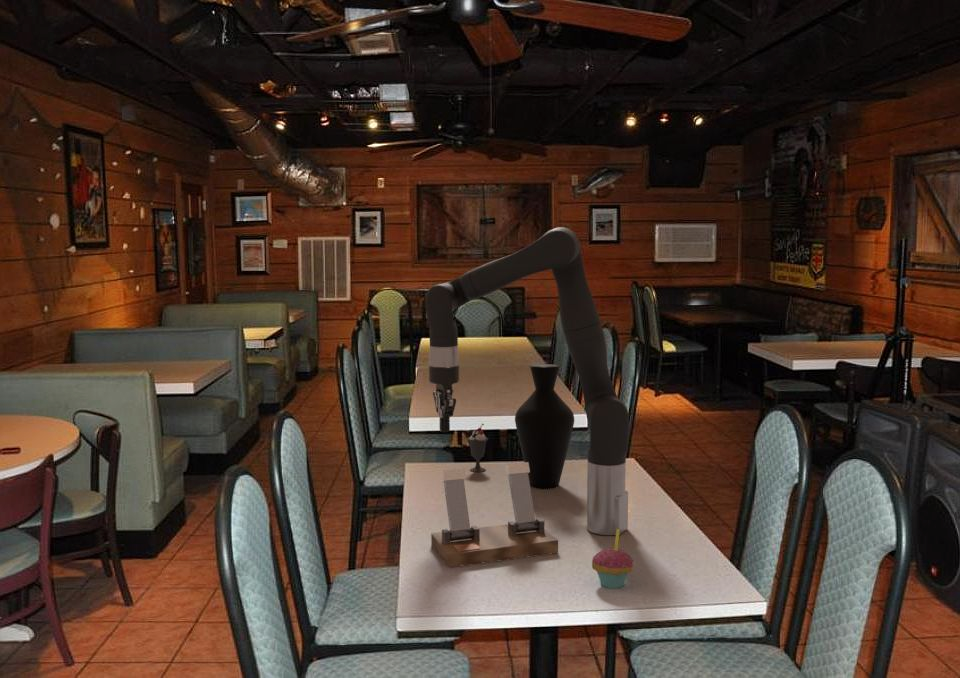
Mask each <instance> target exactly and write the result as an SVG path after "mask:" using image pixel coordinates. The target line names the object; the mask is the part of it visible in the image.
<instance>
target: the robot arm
mask: <svg viewBox="0 0 960 678" xmlns="http://www.w3.org/2000/svg"><path fill="white" fill-rule="evenodd" d="M581 248H582V247H581V242H580V240H579V237H578V236H577V234H576V233H575V232H574V231H573V230H572V229H570V228H568V227H563V226H559V227H558V226H557V227H555V228H553V229H549V230H548V231H547V232H544V234H543V235H542V236H540V237H539V238H538V239H536V240H535V241H533V242H532V243H530V244H529V245H527V246H525V247H524V248H522V249H519V250H517V251H516V252H514V253H511V254H509V255H506V256H504V257H501V258H498V259H495V260H492V261H490V262H487V263H485V264H483V265H479V266H477V267H474V268H473V269H470V270H468V271H467V272H465V273H463V274H462V275H461V276H459V277H456V278H455V279H451V280H450V281H446V282H444V283H439V284H435V285H432V286H431V287H430V288H428V290H427V292H426V295H425V302H424V303H425V312H426V316H427V323H428V325H429V352H428V375H429V376H428V381H429V383H430V384H434V385H435V389H434V391H433V392H432V395H433V400H434V405H435V412H436V413H437V415H438V417H439V431H440V432H441V433H449V432H450V430H451V429H450V426H451V425H450V423H451V422H450V418H451V417H453V416H454V411H455V409H456V404H457V399H456V398H454V397H455V390H453V384H457V383H459V381H460V354H459V353H460V352H459V343H458V342H459V332H458V331H459V330H458V327H457V324H456V323H455V322H454V317H453V316H454V314H453V310H456V309H457V308H460V307H463V306H465V305H466V304H468V303H469V302H472V301H474V300H477V299H479V298H482V297H485V296H487V295H489V294H492V293H495V292H496V291H498V290H501V289H503V288H505V287H507V286H509V285H511V284H513V283H515V282H517V281H518V280H521V279H523V278H525V277H528V276H529V277H530V276H531V275H534V274H537V273H542V272H545V271H548V270H551V272H552V275H553V278H554V280H555V283H556V289H557V294H558V303H559V304H558V307H559V318H560V323H561V328H562V331H563V336H564V339H565V341H566V342H565V343H566V344H567V345H566V346H567V348H568V352H569V355H570V357H571V360H572V363H573V365H574V368H575V370H576V373H577V375H578V378H579V381H580V386H581V390H582V396H583V402H584V407H585V416H586V418H587V421H588V422H589V426H590V430H589V432H590V433H589V446H588V447H589V448H588V450H587V479H586V480H587V484H586V485H587V489H586V490H587V491H586V492H587V493H586V496H587V497H586V499H587V500H586V501H587V502H586V529H587V531H589V532H590V533H593V534H596V535H601V536H602V535H603V536H616V529H618V525H619V530H620V531H619V536H620V535H621V534H623V533H624V532H625V531H626V530H628V528H629V527H628V526H629V521H628V520H629V491H628V490H626V476H627V475H626V471H627V469H626V466H627V465H626V464H627V463H626V461H627V454H628V451H629V450H628V449H629V437H630V436H629V433H630V432H629V431H630V418H629V417H630V416H629V412H628V408H627V407H626V405H625V404H624V403H623V402H622V401H621V400H620V399H619V397H618V395H617V393H616V390H615V388H614V385H613V382H612V380H611V376H610V371H609V367H608V352H607V343H606V337H605V336H606V335H605V333H604V329H603V325H602V323H601V318H600V315H599V312H598V309H597V306H596V304H595V300H594V298H593V295H592V292H591V289H590V287H589V284H588V280H587V277H586V272H585V267H584V262H583V255H582V249H581Z"/></svg>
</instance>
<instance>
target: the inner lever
mask: <svg viewBox="0 0 960 678" xmlns="http://www.w3.org/2000/svg"><path fill="white" fill-rule="evenodd" d="M504 471H505V476H506V477H508V483H509V489H510V495H511V502H512V508H513V514H514V520H515V521H514V523H515V524H517V533H520V532H528V531H536V530H538V528H539V526H538V522H537V520H536V516H535V515H536V514H535V510H534V509H535V508H534V502H533V497H532V489H531V486H530V483H529V477H528V473H529V472H530V469H529V463H528V462H525V463H524V462H515V463H508V464H505V465H504Z"/></svg>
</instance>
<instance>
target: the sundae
mask: <svg viewBox="0 0 960 678" xmlns="http://www.w3.org/2000/svg"><path fill="white" fill-rule="evenodd" d="M484 425H485V424H484V423H481V425H480V427H478V428H476V429H475V430H470V431H469V432H470V433H469V437H467V438H466V439H467V441H468V442H469V447H470V449H469V450H470V455H471V456H472V458H473V459H475V466H474V467H472V468H470V469H469V471H470V470H471V472H472V471H474V472H473V473H483V472H486V471H487V469H486V468H485V467H482V466H481V463H480V462H481V460H482V458H483V457H484V456H485V452H486V446H487V445H486V444H487V441H488V440H489V439H490V438H489V437H487V436H486V435H485V434H484V431H483V430H482V427H483V426H484Z"/></svg>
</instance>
